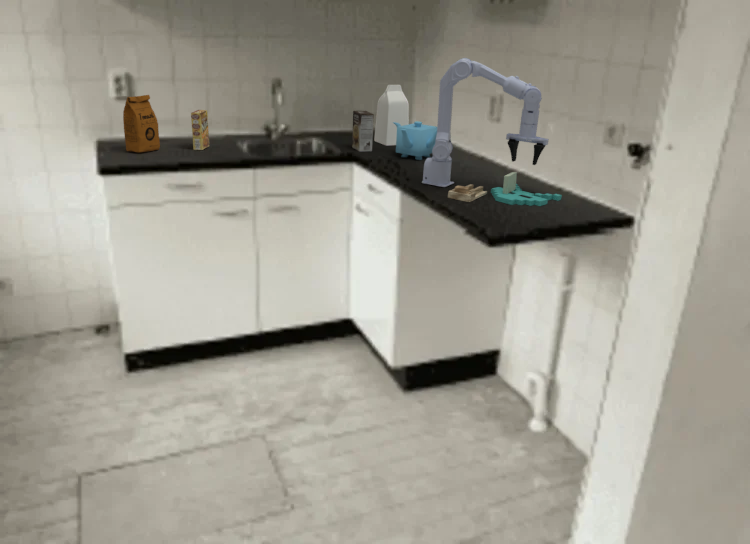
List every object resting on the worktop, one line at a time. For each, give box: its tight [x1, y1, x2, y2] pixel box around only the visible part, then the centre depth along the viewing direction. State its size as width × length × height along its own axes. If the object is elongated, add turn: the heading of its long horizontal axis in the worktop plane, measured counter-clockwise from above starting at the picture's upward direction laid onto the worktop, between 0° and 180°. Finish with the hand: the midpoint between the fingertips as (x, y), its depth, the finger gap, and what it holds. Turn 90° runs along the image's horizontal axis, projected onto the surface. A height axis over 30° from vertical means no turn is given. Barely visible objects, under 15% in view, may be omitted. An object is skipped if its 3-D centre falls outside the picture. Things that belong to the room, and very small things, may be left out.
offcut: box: [454, 185, 470, 193], centre depth 224 cm, size 4×3×2 cm
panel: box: [502, 171, 518, 194], centre depth 229 cm, size 2×8×6 cm, turn 148°
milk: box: [373, 84, 410, 146], centre depth 306 cm, size 12×12×26 cm
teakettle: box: [393, 121, 437, 161], centre depth 281 cm, size 19×19×15 cm
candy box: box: [190, 109, 210, 151], centre depth 278 cm, size 9×4×15 cm, turn 174°
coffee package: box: [122, 94, 161, 153], centre depth 267 cm, size 10×12×22 cm
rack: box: [447, 183, 488, 203], centre depth 228 cm, size 8×14×2 cm, turn 147°
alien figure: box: [490, 183, 563, 207], centre depth 229 cm, size 20×2×20 cm
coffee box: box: [351, 110, 375, 152], centre depth 291 cm, size 9×6×16 cm
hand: (524, 162), depth 233 cm, fingers open, 7 cm apart
